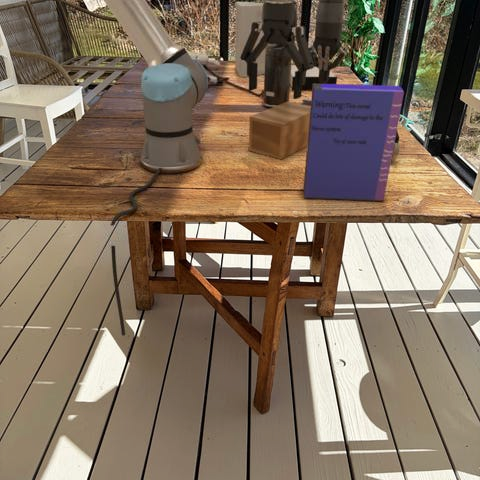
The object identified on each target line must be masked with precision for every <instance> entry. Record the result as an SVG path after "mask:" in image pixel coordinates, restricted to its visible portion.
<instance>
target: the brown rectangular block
mask: <svg viewBox="0 0 480 480" xmlns="http://www.w3.org/2000/svg"><path fill="white" fill-rule="evenodd" d="M310 109H311V106H307V105H302V104H298V103H296V102H292V101H289V102H285V103H283V104H280V105H278V106H275V107H273V108H268V109H266V110H262V111H260V112H258V113H255V114H253V115H250V116H249V129H248V151H250V152H252V153H256V154H260V155H262V156H263V155H264V156H267V157H271V158H275V159H278V160H283V159H286V158H288V157H290V156H291V155H293V154H294V153H296V152H299V151H300V150H302V149H303V148H305V147H306V148H307V142H308V131H309V120H310Z"/></svg>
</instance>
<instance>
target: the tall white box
mask: <svg viewBox="0 0 480 480" xmlns="http://www.w3.org/2000/svg"><path fill="white" fill-rule="evenodd" d="M262 8H263V2H252V1H235V59H234V60H235V62H234V63H235V65H234V66H235V68H234V69H235V71H236V73H237V75H238V77H239V78H249V76H247V63H246V61H244V60H241V58H240V57H241V54H242V52H243V49H244V47H245V45H246V42H247V40H248V37H249V35H250V33H251V26H252V23H253V22H261V16H262ZM261 23H262V22H261ZM263 35H264V33H263V31H262V30H261V32H260V34H259V37H258V39H257V41H256V43H255V46H254V48H253V50H254V49H255V47H256V46H257V45H258V43H259V42H260V39H261V38H262V37H263ZM265 48H266V47H265ZM253 50H252V51H253ZM255 61H256V62H254V63H258V67H257V76H259V75H260V76H261V75H264V72H265V49H264V50H263V51H262V53H261V54H260V55H259V57H258V58H257V59H256V60H255Z"/></svg>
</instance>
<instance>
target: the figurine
mask: <svg viewBox="0 0 480 480" xmlns="http://www.w3.org/2000/svg"><path fill="white" fill-rule="evenodd" d="M216 75H217V76H215V75H214V76H211V75H208V74H207V76H208V84H212V85H215V86H217V85H222V86H223V84H224V83H226V82H225V81H228V82H229V80H230V77H229V76H219V75H218V74H216ZM218 76H219V77H218Z"/></svg>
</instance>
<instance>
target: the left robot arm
mask: <svg viewBox="0 0 480 480" xmlns="http://www.w3.org/2000/svg"><path fill="white" fill-rule="evenodd" d="M294 1H295V0H266V2H265V3H264V4H263V20H264V21H263V24H262V23H261V22H253V23H252V26H251V33H250V35H249V37H248V40H247V42H246V45H245V47H244V49H243V52H242V54H241V57H240V58H241V60H244V61H246V63H247V76H249V77H248V90H251V91H253V90H254V91H255V90H257V88H258V75H257V67H258V63H254V62H256V61H255V60H256V59H257V58H258V57H259V55H260V54H261V53H262V51H263V50H264V49H265V47H266V46H267V45H268V44H277V45H283V46H284V48H286V50H287V51H288V53H289V55H290V57H291V58H292V63H293V64H294V66H296V67H297V69H298V71H295V80H294V90H293V95H292V99H293V100H298V99H300V98H302V92H303V90H302V85H304V84H305V80H306V71H307V70H309V69H312V68H314V63H313V60H312V57H311V53H310V50H309V47H310V46H309V44H308V41H307V38H306V27H305V26H304V25H299V26H297V27H294V26H293V20H294V10H295V7H296V4H295V3H294ZM103 2H104V3H105V5H106V6H107V8H108V9H109V10H110V12H111V13H112V15H113V16H114V18H115V20H117V22H118V23H119V24H120V26H121V27H122V29H123V31H124V32H125V33H126V34H127V36H128V38H129V39H130V40H131V42H132V43H133V44H134V46H135V48H137V50H138V51H139V53H140V54H141V56H142V57H143V58H144V60H145V62H146V63H147V66H148V67H147V68H146V69H145V70H143V72H142V74H141V77H140V78H141V79H140V80H141V83H140V91H141V95H142V97H141V98H142V106H143V116H144V125H145V126H144V127H145V138H144V142H143V146H142V150H141V154H140V162H141V166H142V168H144V169H145V170H146V171H149V172H151V173H153V175H152V177H151V179H150V180H149V181H148V182H147V183H146V184H145V185H143V186H140V187H138V188H136V189H134V190H133V191H132V192H130V193H129V195H128V196H129V197H128V198H129V201H130V203H131V204H132V205H133V207H132V208H130V209H127V210H122V211H120V212H117V213H116V215H115V216H114V217H113V218H112V220H111V222H110V226H111V227H113V226H115V225H116V222H117V221H118V219H119V218H121V217H122V216H125V215H128V214H133V213H134V212H135V211H136V210H137V208H138V203H137V202H136V200H135V199H134V196H135V195H136V194H138V193H140V192H142V191H144V190H146V189H148V188H149V187H150V186H151V185H152V184H153V183H154V181H155V180H156V178H157V177H158V175H159V174H163V175H164V174H165V175H169V174H170V175H172V174H173V175H175V174H182V173H187V172H190V171H193V170H195V169H197V168H198V167H199V166H201V163H202V154H201V151H200V149H199V146H198V145H201V140H200V139H199V138H197V137H196V136H195V135H194V130H193V129H194V126H193V109H194V108H195V107H196V105H198V104H199V103H200V102H202V100H203V99H204V97H205V96H206V93H207V91H208V87H209V83H208V76H209V75H208V73H207V71H206V68H205V66H204V65H203V66H202V65H201V64H200V63H199V62H198V61H196V60H194V59H192V58H191V57H190V55H189V54H188V53H187V51H188V50H187V49H186V48H185V46H181V45H178V44H175V42H174V40H173V39H172V37H171V36H170V34H169V33H168V31H167V30H166V28H165V27H164V26H163V24H162V22H161V21H160V20H159V18H158V17H157V16H156V14H155V12H154V11H153V9H152V7H151V6H150V5H149V3H148V2H147V1H146V0H103ZM261 30H262V31H263V33H264V35H263V37H262V38H261V39H260V42H259V43H258V45H257V46H256V47H255V49H254V50H253V48H254V46H255V43H256V41H257V39H258V37H259V34H260V32H261ZM293 33H294V36H295V42H294V40H293V39H292V37H291V35H292V34H293ZM287 41H288V42H287ZM294 43H295V44H294ZM296 44H297V46H296ZM252 50H253V51H252ZM207 75H208V76H207ZM110 247H111V248H110V251H111V266H112V277H113V286H114V293H115V297H116V298H115V299H116V304H117V305H116V306H117V311H118V318H119V324H120V332H121V336H123V337H124V336H126V329H125V322H124V314H123V308H122V302H121V295H120V288H119V280H118V270H117V257H116V245H110Z"/></svg>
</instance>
